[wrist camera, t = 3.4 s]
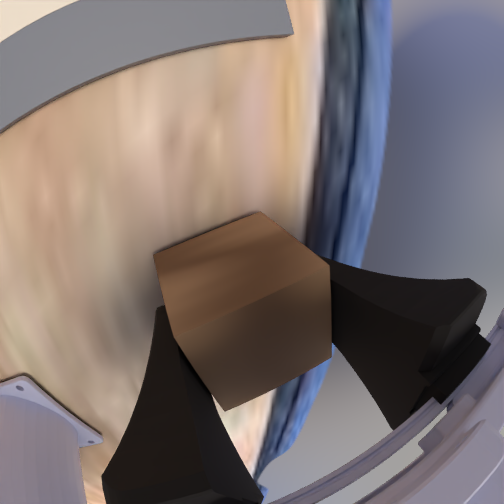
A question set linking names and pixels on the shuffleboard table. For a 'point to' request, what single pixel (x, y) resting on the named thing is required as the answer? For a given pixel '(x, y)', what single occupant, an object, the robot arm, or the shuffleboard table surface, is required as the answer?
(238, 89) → the shuffleboard table surface
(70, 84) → the board
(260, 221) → the walnut block
